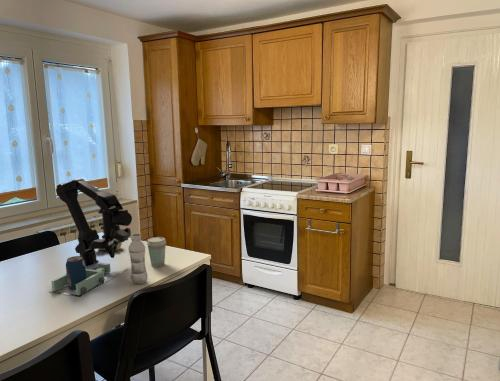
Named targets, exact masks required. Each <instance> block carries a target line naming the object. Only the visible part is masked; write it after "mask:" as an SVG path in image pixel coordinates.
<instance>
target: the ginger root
mask: <svg viewBox="0 0 500 381" xmlns="http://www.w3.org/2000/svg"><path fill="white" fill-rule="evenodd" d="M102 239H104V238H102ZM122 244H123V242H120V243H119V244H118V246H117V249H116V252H117V251H119V250H120V249H121V247H122ZM97 250H99V251H105V250H106V249H105V248H104V249H99V248H98V249H97Z"/></svg>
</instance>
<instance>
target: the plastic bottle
mask: <svg viewBox="0 0 500 381" xmlns="http://www.w3.org/2000/svg"><path fill="white" fill-rule="evenodd" d="M130 238H131V239H130V240H131V242H130V244H129V246H128V255H129V259H130V266H131V267H130V271H131V272H130V281H131V283H132V284H134V285H142V284H145V283H146V282H147V281H148V273H147V268H146V259H145V258H146V245H145V243H144V242H143V241H142V235H141V234H140V233H134V234H131V236H130Z"/></svg>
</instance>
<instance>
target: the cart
mask: <svg viewBox="0 0 500 381" xmlns="http://www.w3.org/2000/svg"><path fill="white" fill-rule="evenodd" d="M97 267H98V269H96V270H93V269H89V268H86V278H87V279H85V280H83V281H81V282H79V283H77V284H75V285H76V290H75V293H76V294H75V295H81V294H83V293H86V291H88V290H90V289H92V288H93V287H95V286H97V285H99V284H100V283H103V282H104V281H106V280H105V275H104V274H109V273H111V272H112V271H111V264H110V263H106V262H99V263H97ZM65 286H68V283H67V273H64V274H62V275H61V276H59V277H56V278H54V279H53V280H51V288H52V290H51V291H56V292H57V290H60V289H62V288H63V287H65Z"/></svg>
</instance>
